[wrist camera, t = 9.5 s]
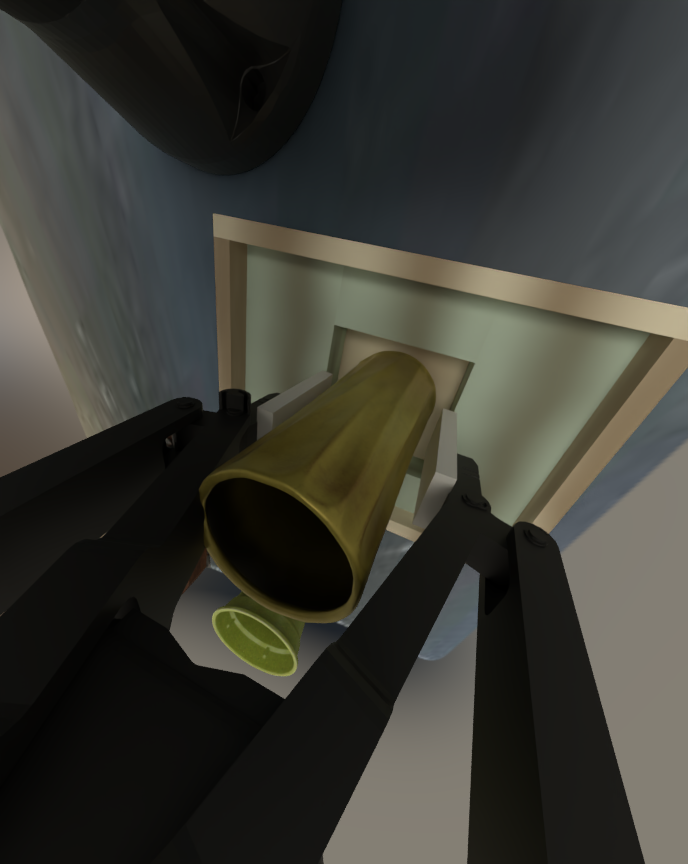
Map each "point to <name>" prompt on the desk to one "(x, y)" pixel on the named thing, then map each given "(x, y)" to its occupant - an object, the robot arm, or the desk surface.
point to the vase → (319, 491)
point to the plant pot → (259, 635)
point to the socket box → (453, 354)
